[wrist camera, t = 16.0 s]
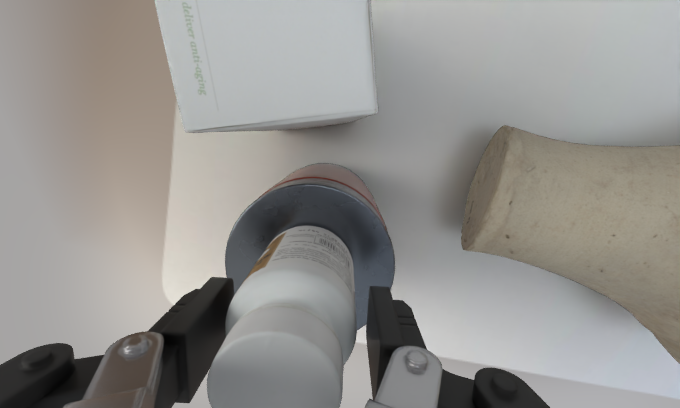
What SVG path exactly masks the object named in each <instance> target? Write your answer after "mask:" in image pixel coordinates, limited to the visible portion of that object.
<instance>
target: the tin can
mask: <svg viewBox="0 0 680 408" xmlns="http://www.w3.org/2000/svg"><path fill="white" fill-rule="evenodd" d="M298 226H316V227H321V228H324V229H326V230H329V231H330V232H332V233H333V234H335V235H336V236H337V237H339V238H340V239H341V240H342V241H343V243H344V244H345V245H346V247H347V248H348V250H349V252H350V254H351V257H352V260H353V267H354V287H355V305H356V321H357V330H359V329H360V328H361V327H363V326H364V325H366V324H367V311H368V298H369V288H370V286H383V287H389V288H390V290H391V287H392V284H393V279H394V273H395V257H394V250H393V246H392V242H391V239H390V237H389V235H388V232H387V228H386V226H385V223H384V221H383V218H382V216H381V214H380V212H379V210H378V207H377V205H376V203H375V201H374V198H373V196H372V194H371V193H370V191H369V189H368V188H367V186H366V185H365V183H364V182H363V181H362V180H361V179H360V178H359V177H358V176H357V175H356V174H355V173H353V172H352V171H350V170H348V169H347V168H344V167H342V166H339V165H335V164H329V163H317V164H312V165H308V166H305V167H303V168H300V169H299V170H297V171H295V172H293V173H292V174H290V175H289V176H287V177H286V178H284V179H283V180H282V181H280V182H279V183H277V184H276V185H275V186H273V187H272V188H270V189H269V190H268V191H266V192H265V193H264V194H263V195H261V196H260V197H259V198H258V199H257V200H256V201H254V202H253V203H252V204H251V205H250V206H249V207H248V208H247V209H246V210H245V211H244V212H243V213H242V214H241V216H240V217H239V218H238V220H237V221H236V223H235V225H234V227H233V229H232V231H231V233H230V236H229V239H228V242H227V247H226V254H225V267H226V275H227V278H232V279H233V282H234V295H235V294H236V292H237V290H238V289H239V288H240V286H241V285H242V283H243V282H244V280H245V279H246V277H247V276H248V274H249V272H250V271H251V270H252V268H253V267H254V265H255V264H256V263H257V261H258V260H259V258H260V257H261V255H262V254H263V253H264V251H265V250H266V249H267V247H268V246H269V244H270V243H271V242H272V240H273V239H274V238H276V237H277V236H278V235H279V234H281V233H282V232H284V231H286V230H288V229H291V228H294V227H298Z"/></svg>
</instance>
